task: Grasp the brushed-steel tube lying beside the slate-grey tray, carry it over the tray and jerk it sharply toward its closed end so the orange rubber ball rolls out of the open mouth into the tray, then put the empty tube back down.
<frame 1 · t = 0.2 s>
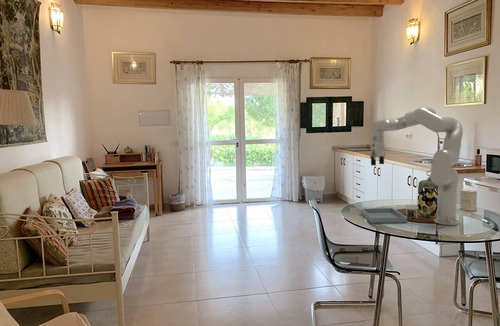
hand: (377, 164, 235), 31 cm above the table, tool pointing down, fingers open, 9 cm apart
tray: (382, 218, 216), on the table
ball: (411, 211, 222), point 2 cm above the table, touching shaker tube
supplement box: (468, 210, 228), on the table
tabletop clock: (431, 206, 243), on the table
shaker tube: (411, 216, 219), on the table, touching ball
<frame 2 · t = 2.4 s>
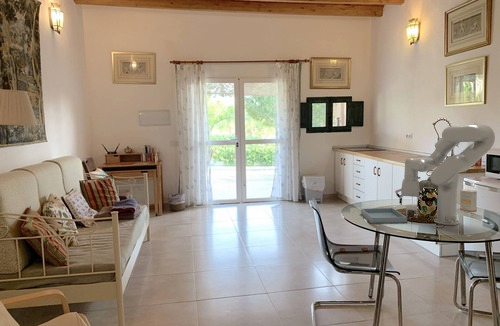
hand: (409, 205, 219), 7 cm above the table, tool pointing down, fingers open, 9 cm apart
ball: (411, 211, 221), point 2 cm above the table, tilted 23°, touching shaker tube
everything else where it was.
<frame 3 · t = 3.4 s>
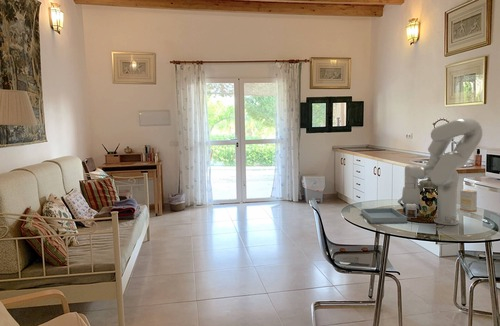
hand: (410, 214, 219), 1 cm above the table, tool pointing down, fingers closed on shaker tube, 6 cm apart
ball: (411, 211, 220), point 2 cm above the table, tilted 44°, touching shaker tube
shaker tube: (410, 216, 219), on the table, touching ball, gripper
everything else where it was.
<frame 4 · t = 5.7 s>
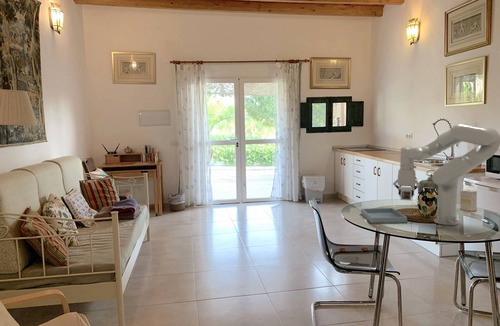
hand: (406, 196, 217), 13 cm above the table, tool pointing down, fingers closed on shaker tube, 6 cm apart
ball: (406, 193, 220), point 14 cm above the table, tilted 12°, touching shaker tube
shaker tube: (406, 198, 217), point 11 cm above the table, touching ball, gripper
everything else where it was.
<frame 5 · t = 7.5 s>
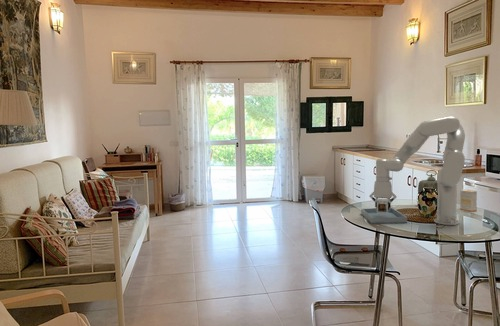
hand: (382, 208, 214), 6 cm above the table, tool pointing down, fingers closed on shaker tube, 6 cm apart
ball: (382, 206, 215), point 8 cm above the table, tilted 47°, touching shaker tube
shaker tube: (382, 210, 214), point 5 cm above the table, touching ball, gripper
everything else where it was.
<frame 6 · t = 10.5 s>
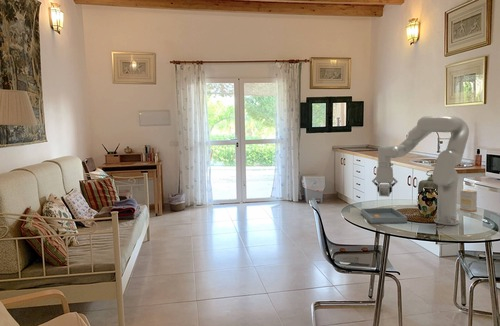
hand: (384, 192, 227), 13 cm above the table, tool pointing down, fingers closed on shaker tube, 6 cm apart
ball: (376, 217, 208), point 3 cm above the table, tilted 157°, touching tray
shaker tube: (384, 194, 227), point 12 cm above the table, touching gripper
everything else where it was.
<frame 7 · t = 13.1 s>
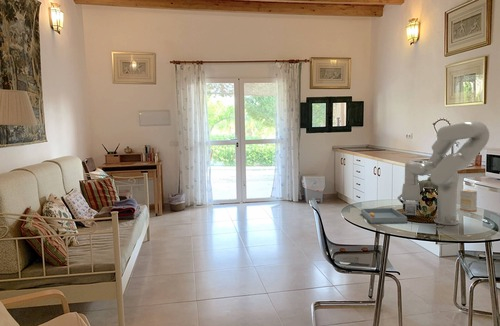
hand: (410, 210, 219), 3 cm above the table, tool pointing down, fingers closed on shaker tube, 6 cm apart
ball: (371, 215, 213), point 3 cm above the table, tilted 21°, touching tray
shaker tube: (410, 212, 219), point 2 cm above the table, touching gripper
everything else where it was.
when the fingers open (2 cm above the table, at t = 13.8 s): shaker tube drops 1 cm, on the table.
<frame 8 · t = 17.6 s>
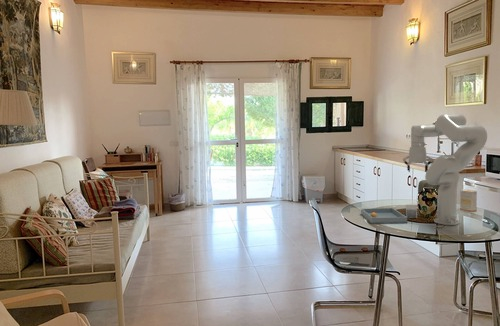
hand: (417, 171, 226), 26 cm above the table, tool pointing down, fingers open, 9 cm apart
ball: (373, 215, 213), point 3 cm above the table, tilted 20°, touching tray
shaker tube: (411, 216, 218), on the table
everything else where it was.
at the end: ball inside the target area on the tray (6.6 cm from its centre), point 2.6 cm above the tray's base; ball touching tray; the gripper is holding nothing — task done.
